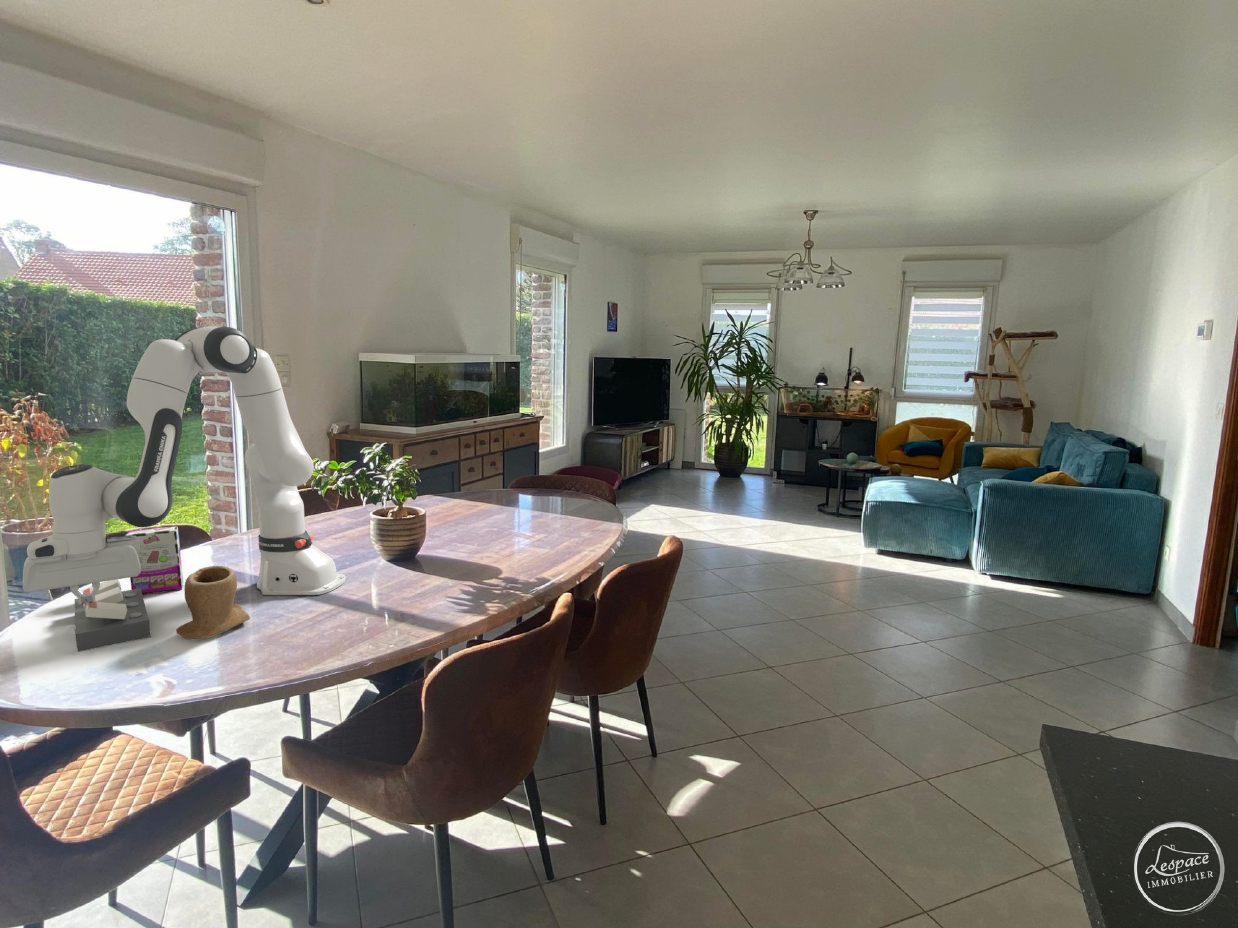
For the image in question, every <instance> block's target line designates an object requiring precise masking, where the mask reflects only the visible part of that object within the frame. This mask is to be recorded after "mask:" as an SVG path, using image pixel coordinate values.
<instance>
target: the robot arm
mask: <svg viewBox="0 0 1238 928" xmlns="http://www.w3.org/2000/svg"><path fill="white" fill-rule="evenodd" d="M198 373H207V374H208V373H209V374H220V373H224V374H225V375H226V376H227V377H228V379H229V380H230V382H231V384H232V388H233V393H234V397H235V399H236V404H237V406H238V411H239V414H240V418H241V420H242V421H241V422H242V424H243V427H244V428H245V430H246V431H247V433H248V434H249V436H250V437H251V440H252V444H250V445H249V446H248V448H247V449H246V450H245V453H244V464H245V466H246V468H247V470H248V473H249V477H250V482H251V485H252V489H253V492H254V497H255V500H256V505H257V513H258V525H259V526H258V527H259V534H258V549H259V552H260V561H259V562H260V564H259V574H258V579H257V583H256V588H257V589H259V590H260V591H261V594H262V595H263V596H316V595H318V596H319V595H324V594H326V593H329V592H332V591H333V590H336V589H337V588H339V587H341V585H343V584H344V583H345V582H346V580H347V577H346V574H344V573H338V572H337V567H336V564H335V560H334V559H333V558H332V557H331V556H329V555H328V554H326V553H324V552H323V551H322V550H320V549H319V548H318V547H316V546H315V545H313V542H312V540H314V539H316V538H315V536H316V535H315V533H314V534H312V535H309V533H308V531H307V530H306V523H305V505H304V501H303V499H302V498H301V495H300V493H299V490H298V487H299V486H302V485H304V484H306V483H307V482H308V481H310V479H311V477H312V475H313V473H314V469H315V468H314V467H315V465H314V461H313V459H312V458H311V456H310V454H309V453H308V452H307V450H306V448H305V446H304V444H303V441H302V439H301V438H300V435H299V433H298V431H297V429H296V427H295V424H294V423H293V420H292V418H291V416H290V415H291V414H290V411H289V408H288V405H287V401H286V397H285V393H284V389H283V386H282V382H281V379H280V376H279V373H278V371H277V368H276V366H275V364H274V361H273V360H272V358H271V356H270V354H269V353H268V352H267V351H266V350H263V349H261V348H257V347H255V346H254V345H253V343H252V340H250V338H249V337H248V336H247V335H246V333H244V332H242V331H240V330H239V329H237V328H234V327H230V326H214V325H213V326H212V325H211V326H210V325H209V326H203V327H199V328H191V329H187V330H186V331H184V332H182V333H180V334H179V335H178V336H177V337H176V338H175V339H167V338H166V339H165V338H161V339H157V340H154V341H152V342H151V343H150V344H149V345H148V347H147V348H146V349H145V351H144V353H143V355H142V356H141V358H140V359H139V361H138V363H137V366H136V369H135V370H134V373H133V374H132V375H133V376H132V379H131V381H130V383H129V386H128V390H127V395H126V408H127V410H128V412H129V414H130V415H131V416H132V417H133V418H134V420H135V421H137V423H139V424H140V426H141V427H142V430H143V432H144V437H145V441H144V442H145V443H144V447H143V452H142V456H141V459H140V460H141V461H140V464H139V467H138V472H137V474H136V476H130V475H125V474H119V473H115V472H110V471H107V470H103V469H100V468H97V467H96V466H94V465H92V464H89V463H88V464H87V463H85V464H84V463H83V464H74V465H69V466H65V467H62V468H59V469H58V470H56V471H54V472H53V473H52V474H51V476H50V478H49V481H48V504H49V511H50V514H51V516H52V518H53V524H52V527H51V529H52V530H51V531H52V534H51V535H48V536H46V537H42V538H39V539H36V540H35V541H32V542H30V543H29V544H28V545H27V548H26V554H27V557H26V558H25V561H24V564H23V570H22V590H24V591H25V592H26V593H36V592H43V591H50V590H54V589H55V590H57V589H63V588H67V587H69V588H70V589H69V590H70V592H71V593H72V594H73V595H74V596H75V597H76V599H78V602H79V605H81V604H87V603H93V602H95V595H96V593H97V591H98V590H99V588H100V584H101V582H102V583H103V582H106V581H110V580H116V579H118V580H122V579H129V578H130V577H136V576H138V575H139V574H140V573H141V566H140V561H139V557H138V553H139V552H140V549H141V546H140V541H139V540H138V539H137V538H135V537H131V536H126V535H123V536H114V537H107V536H106V526H105V523H106V521H107V520H109V519H115V520H120V521H123V522H124V523H127V524H129V525H131V526H134V527H136V528H148V527H152V526H156V525H158V524H159V523H161V522H162V521H163V520H164V519H165V518H166V517H167V516H168V515H169V513H170V512H171V509H172V507H173V491H172V481H173V477H174V470H175V466H176V461H177V457H178V452H179V448H180V444H181V437H182V432H183V414H184V408H185V405H186V401H187V397H188V394H189V391H190V389H191V384H192V382H193V380H194V379H195V377H196V376H197V375H198ZM131 539H134V540H131ZM89 584H91V586H92V587H93V590H92V592H91V593H88V594H83V593H81V592H80V590H79V589H80V587H79V586H82V585H89Z"/></svg>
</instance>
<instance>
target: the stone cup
mask: <svg viewBox="0 0 1238 928" xmlns="http://www.w3.org/2000/svg"><path fill="white" fill-rule="evenodd" d="M237 587H238V581H237V576H236V572H235V571H234V570H233V569H232V568H230V567H228V566H225V565H210V566H205V567H202V568H199V569H198V570H196V571H195V572H193V573H191V574H189V575H188V577H187V578H186V580H185V582H184V599H185V603H186V605H187V608H188V610H189V611H190V614H191V618H192V619H191V620H190V621H188V622H186V623H184V624H182V625H180V626H178V627H177V628H176V630H175V632H176V634H177V635H178V636H179V637H181V638H183V639H187V640H195V641H196V640H199V641H201V640H205V639H208V638H209V639H210V638H211V637H215V636H217V635H220V634H222V633H224V632H226V631H229V630H230V629H233V628H234V627H237V626H239V625H240V624H243V623H245V622H247V621H249V620H250V619H251V616H250V614H249V613H247V611H246V610H245V609H243V607H242V605H240V604H238V603H234V601H235V597H236V594H237V593H236V592H237V589H238V588H237Z"/></svg>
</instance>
